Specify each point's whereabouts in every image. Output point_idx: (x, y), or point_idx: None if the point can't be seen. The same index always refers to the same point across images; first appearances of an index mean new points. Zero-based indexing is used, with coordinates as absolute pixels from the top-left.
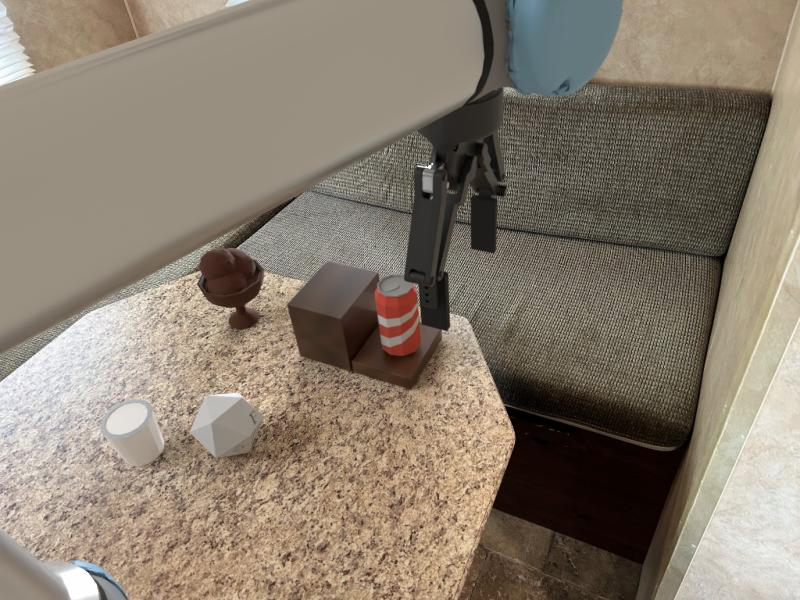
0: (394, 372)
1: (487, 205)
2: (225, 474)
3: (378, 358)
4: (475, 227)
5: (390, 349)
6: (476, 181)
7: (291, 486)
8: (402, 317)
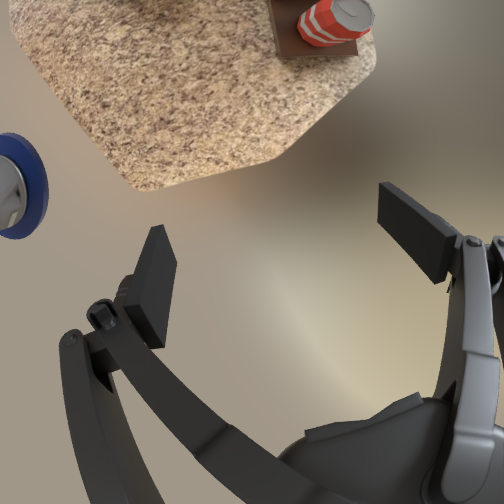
0: (280, 40)
1: (432, 264)
2: (108, 2)
3: (288, 17)
4: (404, 211)
5: (299, 25)
6: (456, 308)
7: (127, 45)
8: (324, 31)
